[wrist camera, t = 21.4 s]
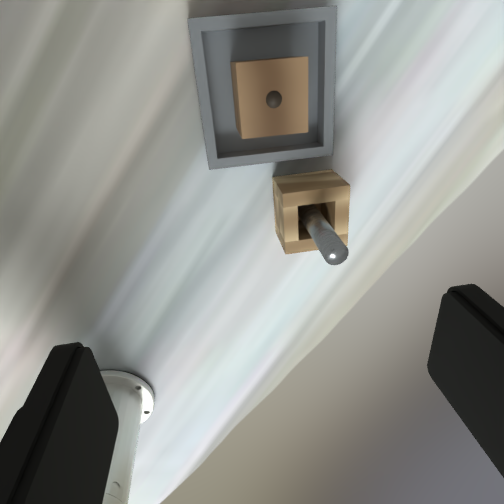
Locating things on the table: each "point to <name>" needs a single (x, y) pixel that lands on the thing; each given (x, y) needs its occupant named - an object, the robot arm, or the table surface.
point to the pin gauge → (323, 234)
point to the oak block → (304, 193)
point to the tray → (264, 47)
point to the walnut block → (270, 96)
